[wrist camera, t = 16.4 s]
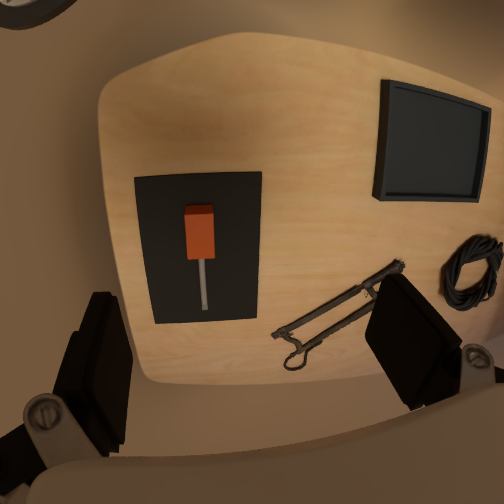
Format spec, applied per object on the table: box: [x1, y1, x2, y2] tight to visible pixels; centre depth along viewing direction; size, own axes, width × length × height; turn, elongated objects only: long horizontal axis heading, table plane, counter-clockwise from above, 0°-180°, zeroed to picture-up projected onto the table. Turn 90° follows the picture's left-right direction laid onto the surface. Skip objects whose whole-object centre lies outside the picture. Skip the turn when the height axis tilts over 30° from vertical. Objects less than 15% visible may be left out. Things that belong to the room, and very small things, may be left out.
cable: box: [443, 237, 504, 311], centre depth 45 cm, size 17×14×4 cm
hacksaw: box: [271, 260, 405, 371], centre depth 46 cm, size 24×10×2 cm, turn 120°
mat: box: [134, 172, 262, 324], centre depth 38 cm, size 20×14×1 cm
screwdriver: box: [184, 204, 215, 310], centre depth 36 cm, size 13×3×3 cm, turn 179°
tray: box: [372, 80, 491, 203], centre depth 35 cm, size 19×15×2 cm
